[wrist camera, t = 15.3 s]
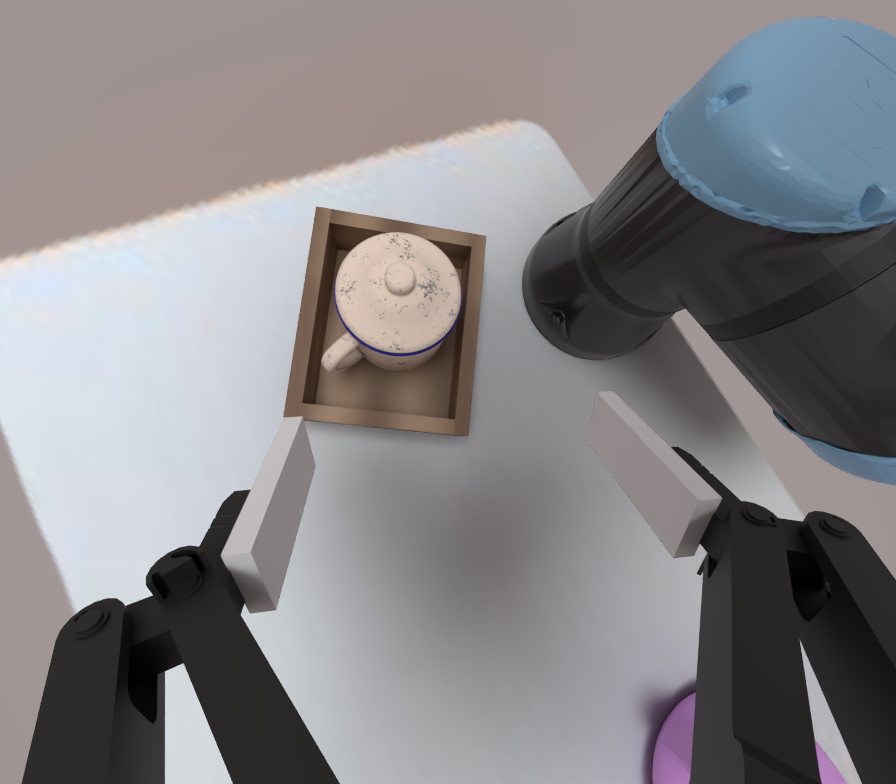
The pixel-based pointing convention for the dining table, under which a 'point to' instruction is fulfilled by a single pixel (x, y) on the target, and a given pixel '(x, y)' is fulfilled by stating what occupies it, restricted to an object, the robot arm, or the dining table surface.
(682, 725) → the teapot
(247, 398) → the dining table surface
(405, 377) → the walnut crate
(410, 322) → the teacup with lid
